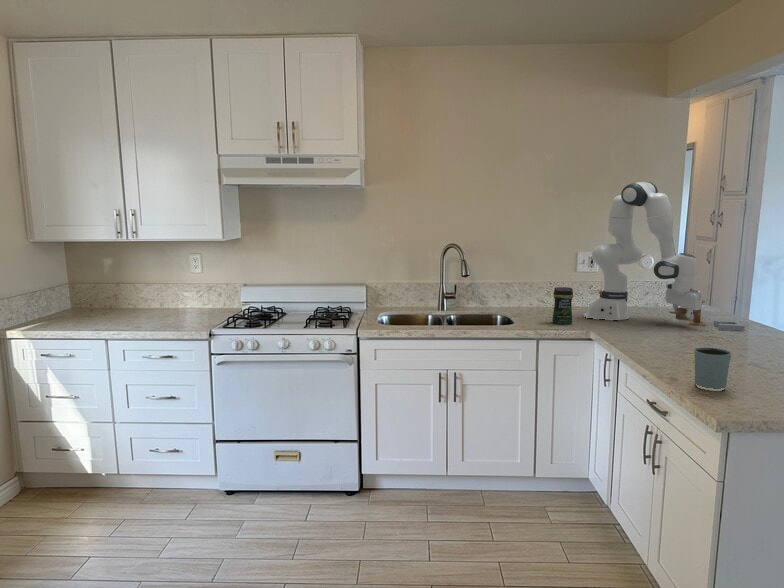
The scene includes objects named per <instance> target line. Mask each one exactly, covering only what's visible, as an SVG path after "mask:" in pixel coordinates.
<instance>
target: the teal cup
mask: <svg viewBox="0 0 784 588" xmlns="http://www.w3.org/2000/svg"><path fill="white" fill-rule="evenodd" d="M693 350H694V385H695V384H697V385H699V386H702V387H706V388H713V389H721V388H725V387H726V388H727V384H728V380H727V379H728V373H729V367H730V362H731V358H732V352H731V351H729V350H726V349H723V348H715V347H697V348H695V349H693Z"/></svg>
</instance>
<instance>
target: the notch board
mask: <svg viewBox="0 0 784 588" xmlns="http://www.w3.org/2000/svg"><path fill="white" fill-rule="evenodd" d="M713 326H714V327H716V328H717V330H718V331H728V330H744V331H745V327H746V326H745V325H744V324H743V323H741V322H740V321H738V320H719V319H718V320H717V319H714V320H713Z"/></svg>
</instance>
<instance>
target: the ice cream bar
mask: <svg viewBox="0 0 784 588" xmlns="http://www.w3.org/2000/svg"><path fill="white" fill-rule="evenodd" d="M687 311H688V310H687V308H680V307H678V308H677V309H676V312H674V311H669V314H674V315H675V319H676V320H682V321H683V320H685V321H689V320H688V317H685V313H687Z"/></svg>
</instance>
